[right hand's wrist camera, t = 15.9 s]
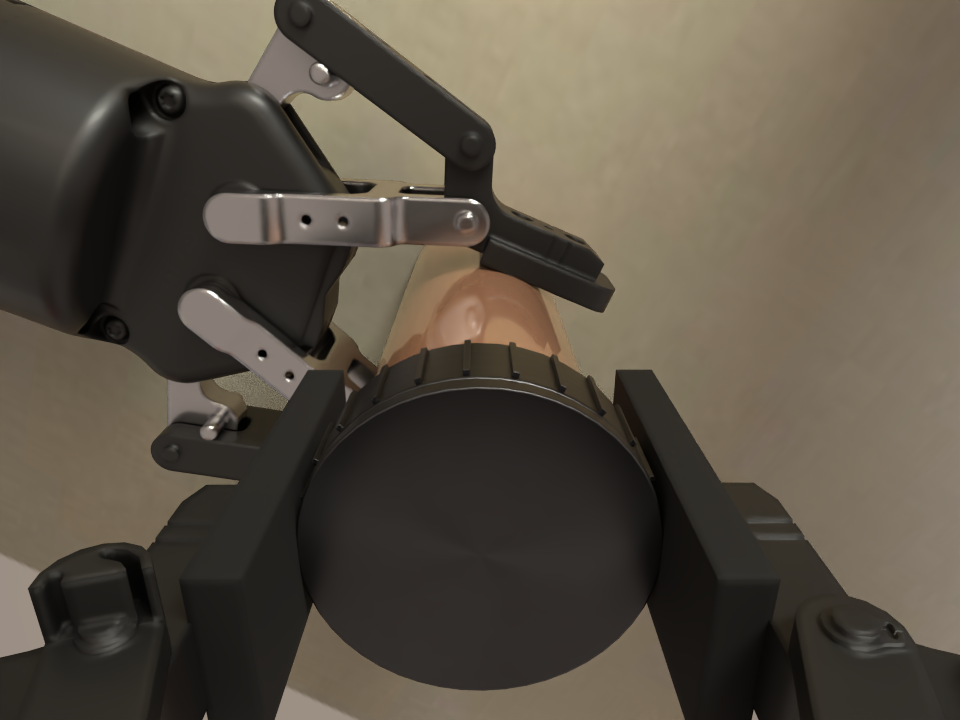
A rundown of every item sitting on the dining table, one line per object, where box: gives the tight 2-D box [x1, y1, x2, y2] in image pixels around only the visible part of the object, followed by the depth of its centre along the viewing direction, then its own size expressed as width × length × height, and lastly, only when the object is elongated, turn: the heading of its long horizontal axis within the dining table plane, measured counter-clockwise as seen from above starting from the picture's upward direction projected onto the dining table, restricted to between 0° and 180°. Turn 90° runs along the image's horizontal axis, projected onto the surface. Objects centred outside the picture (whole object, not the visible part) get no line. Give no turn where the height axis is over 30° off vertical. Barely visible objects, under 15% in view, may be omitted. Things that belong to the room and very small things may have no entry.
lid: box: [296, 340, 664, 691], centre depth 11 cm, size 6×6×2 cm
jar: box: [374, 245, 581, 377], centre depth 18 cm, size 5×5×15 cm
